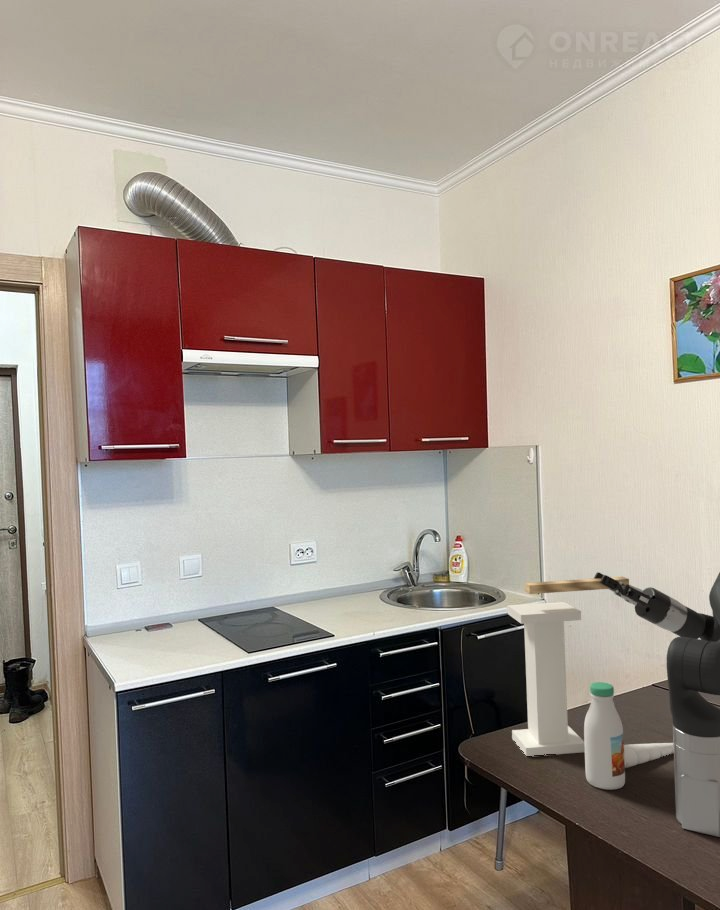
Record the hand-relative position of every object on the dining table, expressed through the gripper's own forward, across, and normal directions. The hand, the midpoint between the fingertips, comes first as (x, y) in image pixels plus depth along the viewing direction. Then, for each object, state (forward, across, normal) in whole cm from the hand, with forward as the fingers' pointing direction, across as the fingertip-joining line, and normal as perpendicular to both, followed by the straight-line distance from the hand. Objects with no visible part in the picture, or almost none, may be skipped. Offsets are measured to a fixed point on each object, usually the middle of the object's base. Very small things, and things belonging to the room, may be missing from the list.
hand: (599, 577), depth 161 cm
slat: (+3, 0, +5) cm, 6 cm away
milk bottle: (-11, +19, +38) cm, 44 cm away
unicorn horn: (-24, +10, +31) cm, 41 cm away
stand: (-7, 0, +40) cm, 41 cm away
